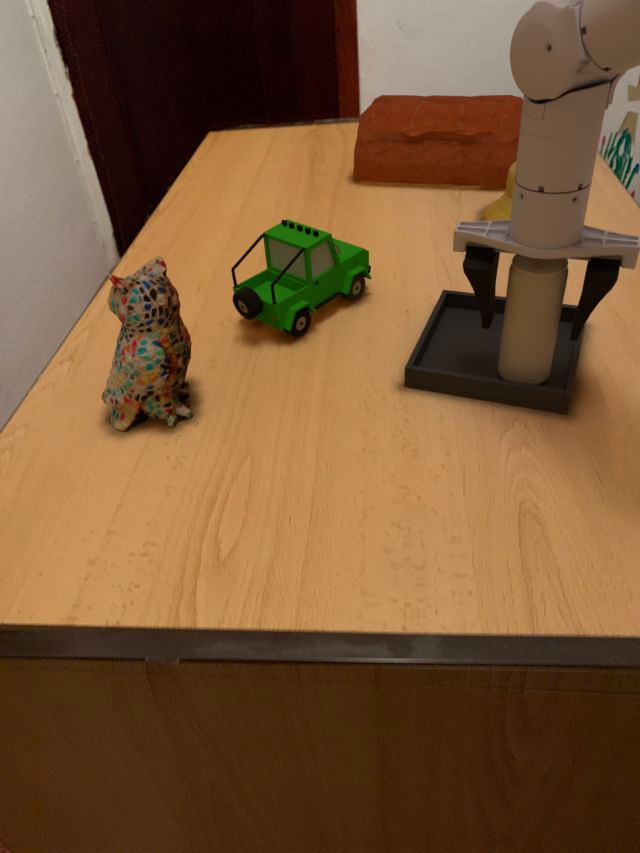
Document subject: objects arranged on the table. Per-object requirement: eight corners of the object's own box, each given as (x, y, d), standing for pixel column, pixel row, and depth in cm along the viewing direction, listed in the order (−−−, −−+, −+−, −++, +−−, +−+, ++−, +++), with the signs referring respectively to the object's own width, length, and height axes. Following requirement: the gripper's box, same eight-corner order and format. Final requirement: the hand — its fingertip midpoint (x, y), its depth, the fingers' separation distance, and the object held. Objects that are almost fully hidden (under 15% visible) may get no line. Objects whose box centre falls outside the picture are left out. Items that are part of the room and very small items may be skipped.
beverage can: (494, 387, 62) (508, 272, 54) (499, 358, 65) (512, 246, 58) (548, 393, 61) (569, 276, 53) (550, 363, 64) (570, 249, 56)
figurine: (136, 375, 69) (92, 243, 59) (216, 381, 67) (184, 245, 57) (99, 429, 63) (43, 290, 53) (185, 437, 61) (144, 295, 51)
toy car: (377, 290, 78) (375, 209, 72) (274, 357, 70) (261, 272, 63) (326, 271, 83) (319, 193, 77) (223, 331, 74) (205, 250, 68)
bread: (371, 151, 115) (369, 85, 108) (530, 155, 107) (539, 84, 100) (346, 186, 104) (342, 115, 97) (521, 193, 96) (530, 117, 89)
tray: (583, 325, 69) (588, 306, 68) (567, 414, 59) (571, 394, 58) (442, 307, 74) (443, 289, 73) (404, 386, 64) (404, 367, 63)
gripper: (656, 165, 51) (618, 316, 60) (469, 156, 56) (460, 297, 65) (654, 201, 46) (613, 359, 55) (450, 188, 51) (443, 335, 60)
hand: (530, 328), depth 60 cm, fingers open, 7 cm apart
